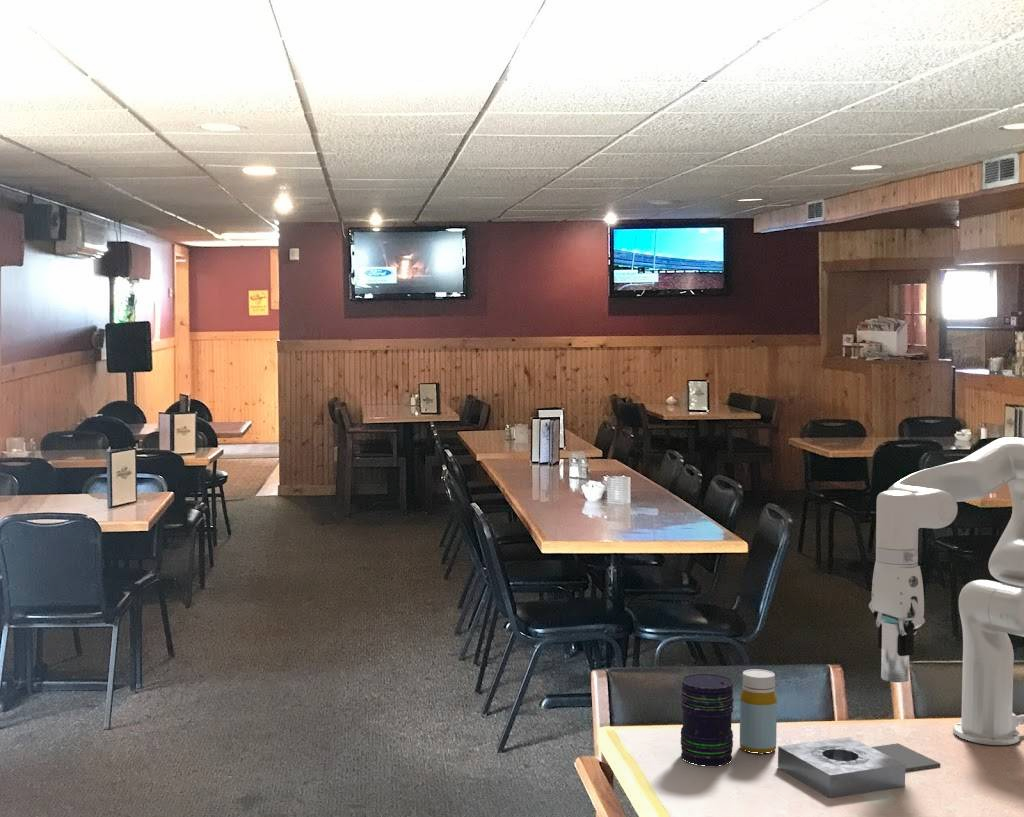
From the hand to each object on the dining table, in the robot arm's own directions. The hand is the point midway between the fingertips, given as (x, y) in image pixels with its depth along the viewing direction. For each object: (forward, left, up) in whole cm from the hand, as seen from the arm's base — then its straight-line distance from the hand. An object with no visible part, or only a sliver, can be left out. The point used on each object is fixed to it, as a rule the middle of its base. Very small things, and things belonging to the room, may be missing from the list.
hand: (895, 650), depth 222 cm
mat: (0, 0, -21) cm, 21 cm away
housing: (+15, +4, -21) cm, 26 cm away
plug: (0, 0, -5) cm, 5 cm away
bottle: (+21, -14, -21) cm, 33 cm away
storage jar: (+33, -13, -21) cm, 41 cm away
